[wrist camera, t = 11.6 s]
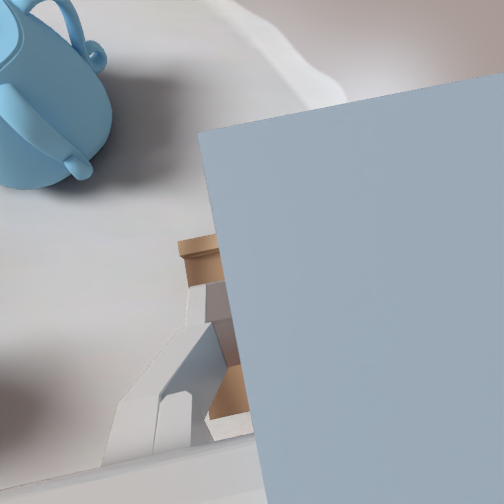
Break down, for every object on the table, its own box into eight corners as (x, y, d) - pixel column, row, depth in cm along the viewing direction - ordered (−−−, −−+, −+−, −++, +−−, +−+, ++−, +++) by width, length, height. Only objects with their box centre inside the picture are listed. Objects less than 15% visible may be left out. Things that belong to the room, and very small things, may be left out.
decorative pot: (-42, 191, 31) (-265, 100, 18) (4, 65, 34) (-155, -92, 21) (106, 209, 30) (-10, 129, 17) (138, 79, 34) (62, -74, 20)
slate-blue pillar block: (261, 359, 14) (276, 556, 3) (243, 271, 15) (196, 133, 4) (349, 340, 15) (734, 449, 3) (325, 254, 15) (540, 64, 4)
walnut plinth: (216, 404, 26) (206, 427, 21) (191, 255, 29) (177, 241, 24) (367, 370, 27) (395, 384, 21) (327, 227, 30) (343, 207, 24)
